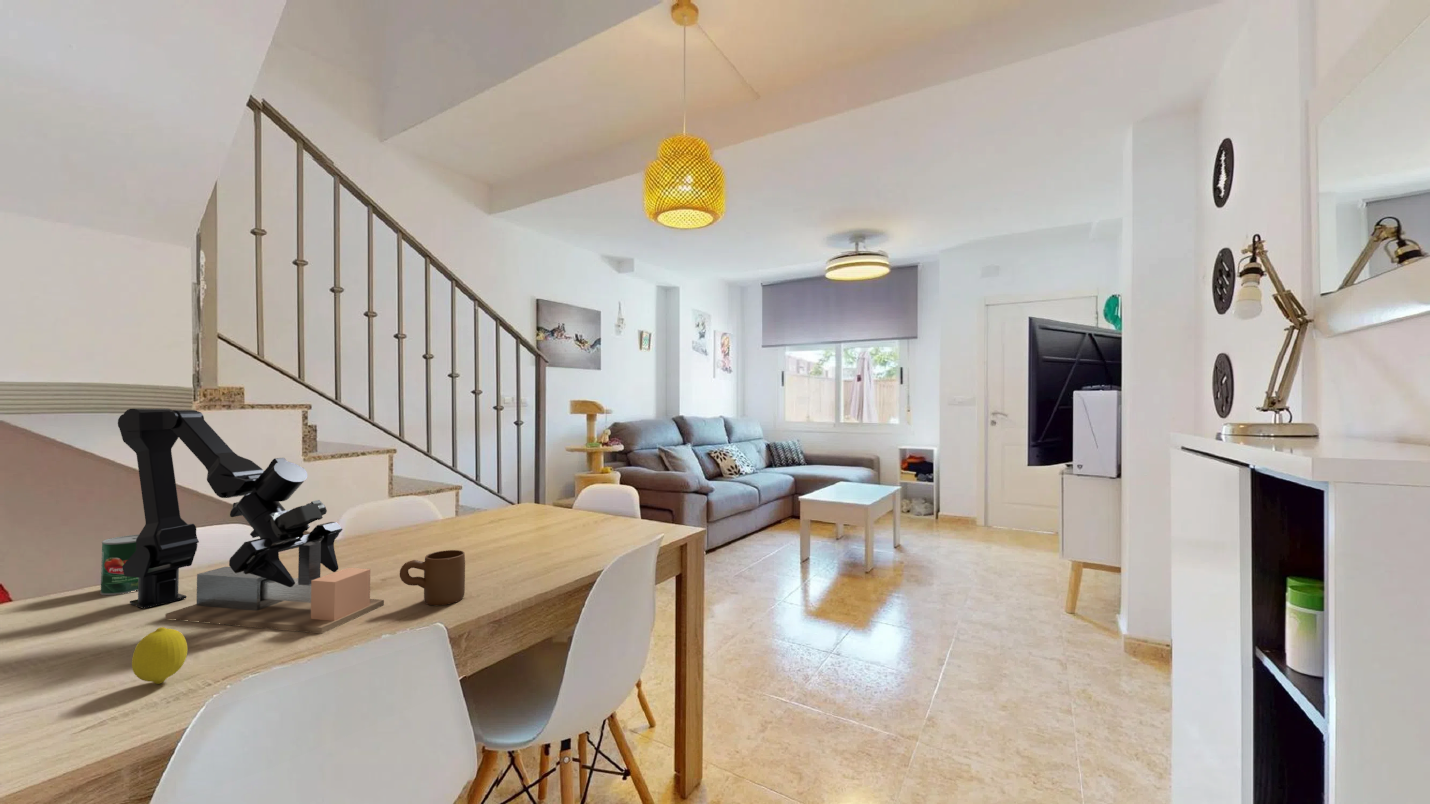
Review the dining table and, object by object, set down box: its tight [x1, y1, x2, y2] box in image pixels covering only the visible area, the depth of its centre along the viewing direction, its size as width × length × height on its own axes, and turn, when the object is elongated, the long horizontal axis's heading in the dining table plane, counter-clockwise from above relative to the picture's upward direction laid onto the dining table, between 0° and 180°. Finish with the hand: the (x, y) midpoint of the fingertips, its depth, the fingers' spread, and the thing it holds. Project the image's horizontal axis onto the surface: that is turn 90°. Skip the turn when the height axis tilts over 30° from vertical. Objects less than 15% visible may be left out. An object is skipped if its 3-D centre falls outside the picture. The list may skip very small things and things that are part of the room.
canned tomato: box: [99, 534, 139, 596], centre depth 116 cm, size 8×8×11 cm
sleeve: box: [195, 566, 282, 611], centre depth 105 cm, size 14×5×6 cm, turn 80°
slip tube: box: [260, 542, 322, 603], centre depth 104 cm, size 23×3×11 cm, turn 80°
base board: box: [164, 598, 385, 634], centre depth 104 cm, size 34×14×1 cm, turn 80°
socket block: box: [311, 567, 371, 621], centre depth 101 cm, size 5×8×7 cm, turn 170°
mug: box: [399, 549, 466, 606], centre depth 110 cm, size 12×8×9 cm, turn 128°
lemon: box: [131, 626, 188, 685], centre depth 77 cm, size 6×6×8 cm
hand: (315, 577), depth 103 cm, fingers open, 9 cm apart
